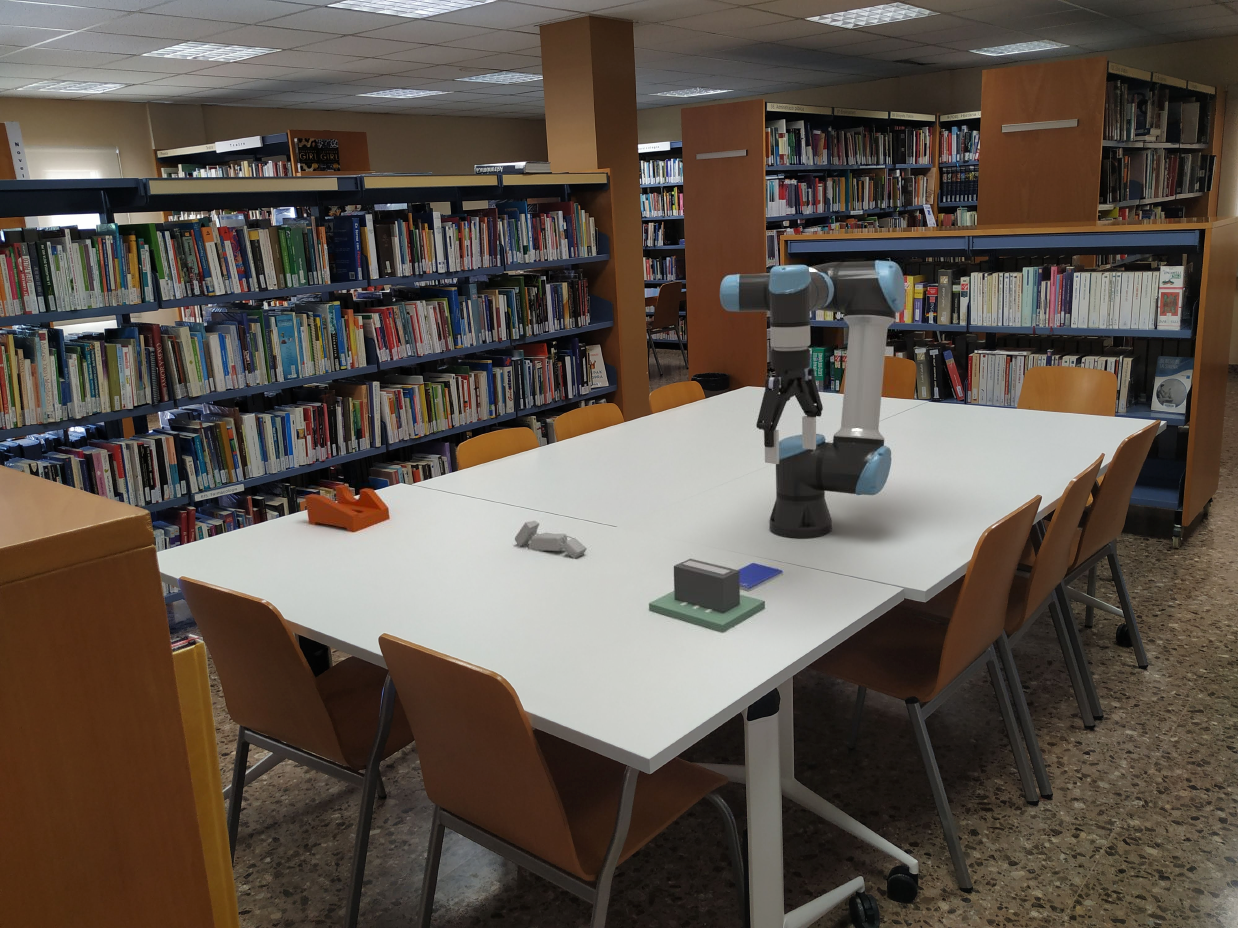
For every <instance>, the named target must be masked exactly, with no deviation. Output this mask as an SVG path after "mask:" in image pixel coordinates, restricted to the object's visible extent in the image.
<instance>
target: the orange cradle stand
mask: <svg viewBox="0 0 1238 928" xmlns="http://www.w3.org/2000/svg"><path fill="white" fill-rule="evenodd" d="M334 488H335V496H336V501H335V500H333V499H331V498H330V497H327V496H325V495H320V494H314V493H311V494H308V495H305V496H304V498H305V504H306V512H307V519H308V525H313V526H318V525H320V524H325V525H331V526H337V527H341V528H346V532H349V533H357V532H359V531H361V530H365V529H367V528H369V527H372V526H374V525H378V524H381V523H383V522H385V521H388V520H390V510H389V507H388V506H387V504H386V503H385V502H384V501H383V499H382V498H381V497H380V496H379V494H378V493H376V491H375V490H374V489H373V488H367V487H366V488H362V489H360V490H359V496H358V498H356V497H354V495H352V493H351V491H350V489H349V485H347V484H338V485H336V486H334Z"/></svg>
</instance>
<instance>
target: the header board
mask: <svg viewBox="0 0 1238 928" xmlns="http://www.w3.org/2000/svg"><path fill="white" fill-rule="evenodd" d="M765 608H766V601H765V600H763V599H759V598H755V597H752V596H747V595H744V594H741V593H740V605H738V606H736V607H734V608H732V609H730V610H728V611H727V612H725V613H722V612H718V611H715V610H711V609H707V608H704V607H700V606H697V605H693V604H690V603H686V602H683V601H679V600H676V599H674V590H673V591H671V592H669V593H666V594H664V595H662V596H660V597H658V598H657V599H655V600H653V601H651V602H649V603H648V610H649V611H650V612H653V613H654V612H655V613H657V614H660V615H664V616H666V617H670V618H674V619H678V620H680V621H684V622H687V623H691V624H694V625H697V626H701V627H703V628H706V629H711V630H714V631H716V632H720V633H725V632H726V631H728V630H729V629H731V628H733V627H735V626H737V625H738V624H740V623H742V622H744V621H745V620H746V619H748V618H750V617H752V616H754V615H755V614H757V613H759V612H760V611H762V610H764V609H765Z"/></svg>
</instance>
